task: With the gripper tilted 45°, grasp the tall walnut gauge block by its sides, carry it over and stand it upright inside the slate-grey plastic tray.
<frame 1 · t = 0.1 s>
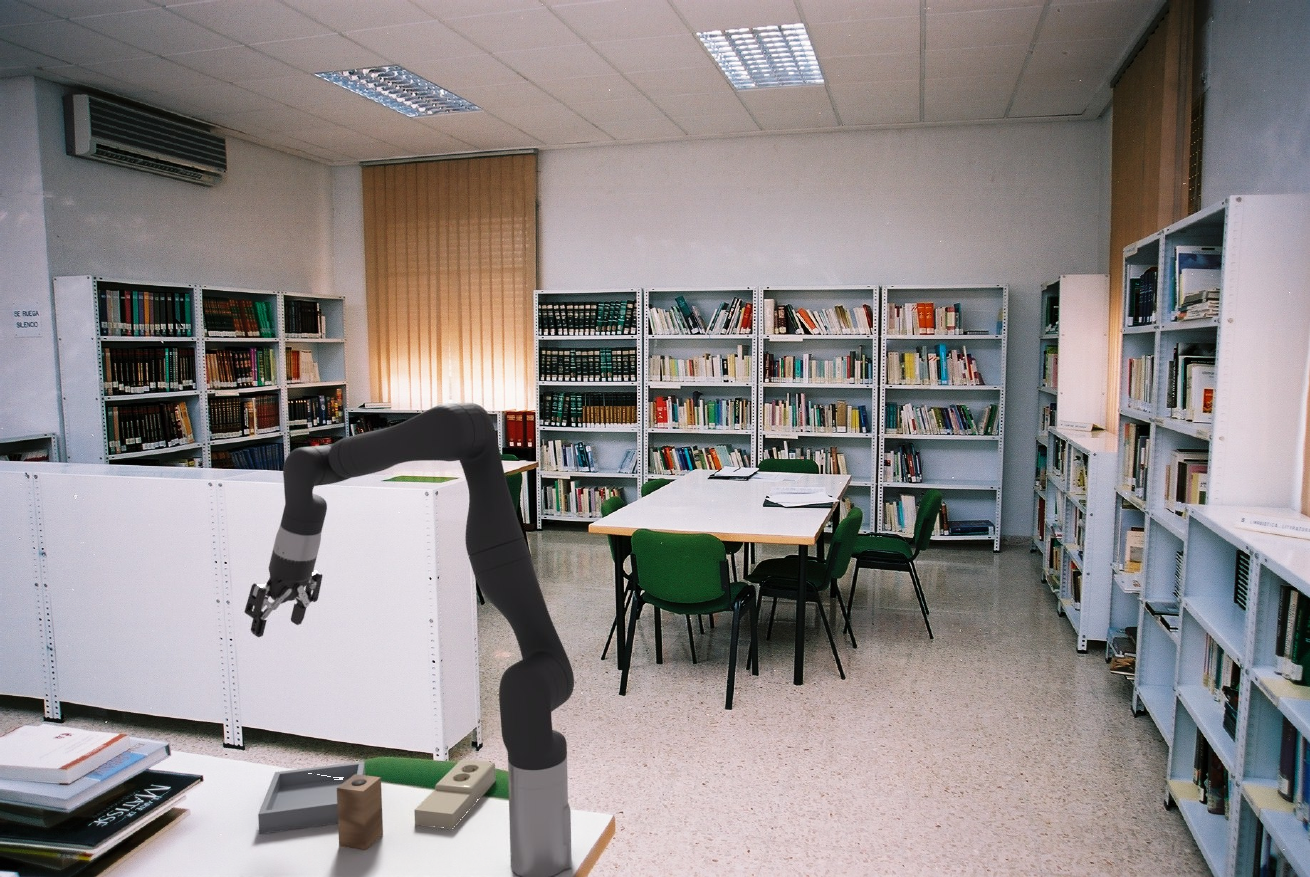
hand: (276, 628, 155), 31 cm above the table, tool tilted 20°, fingers open, 8 cm apart
gauge block: (361, 840, 141), on the table
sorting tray: (315, 804, 153), on the table
electrical outlet: (457, 804, 153), on the table
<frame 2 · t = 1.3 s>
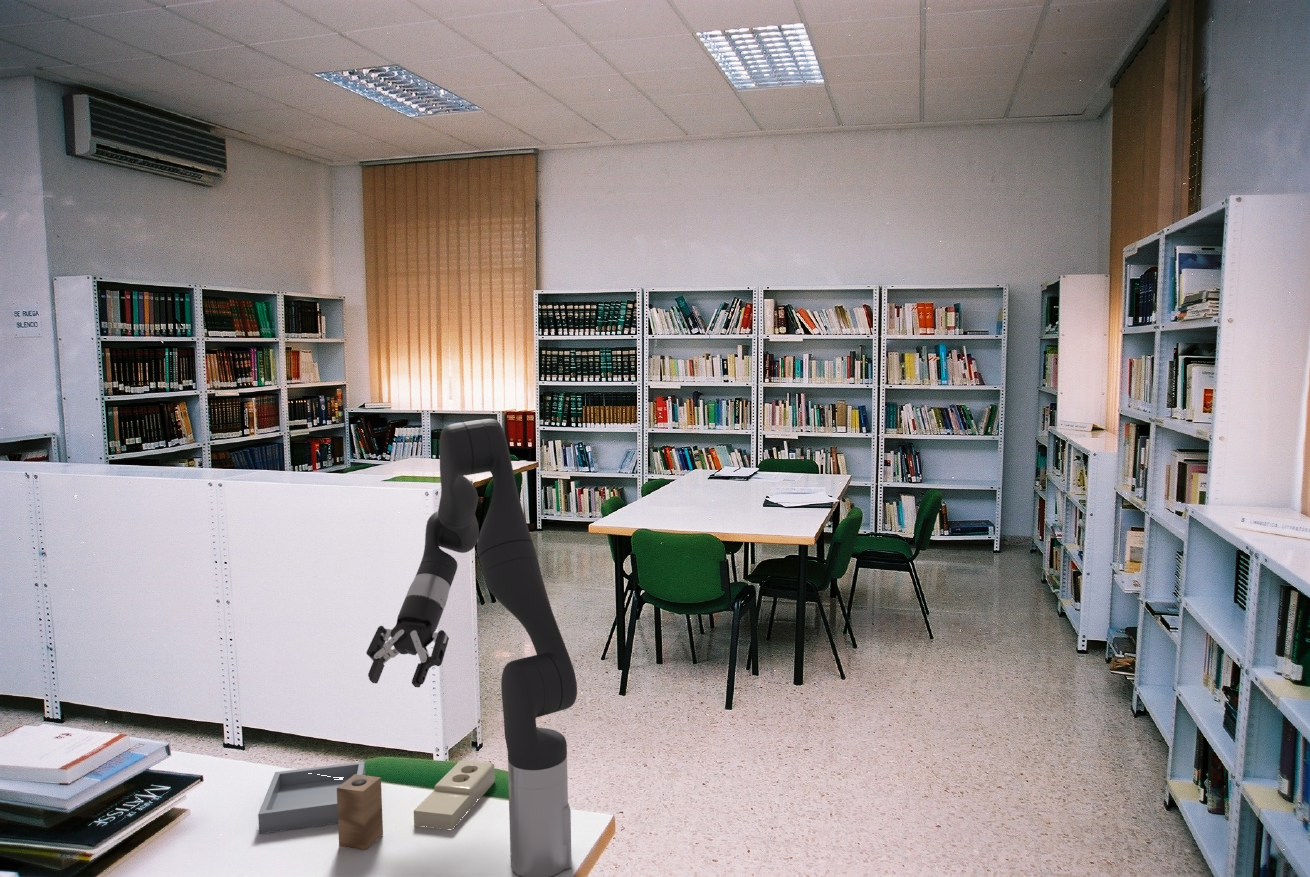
hand: (393, 683, 150), 23 cm above the table, tool tilted 45°, fingers open, 8 cm apart
nothing on the table moved.
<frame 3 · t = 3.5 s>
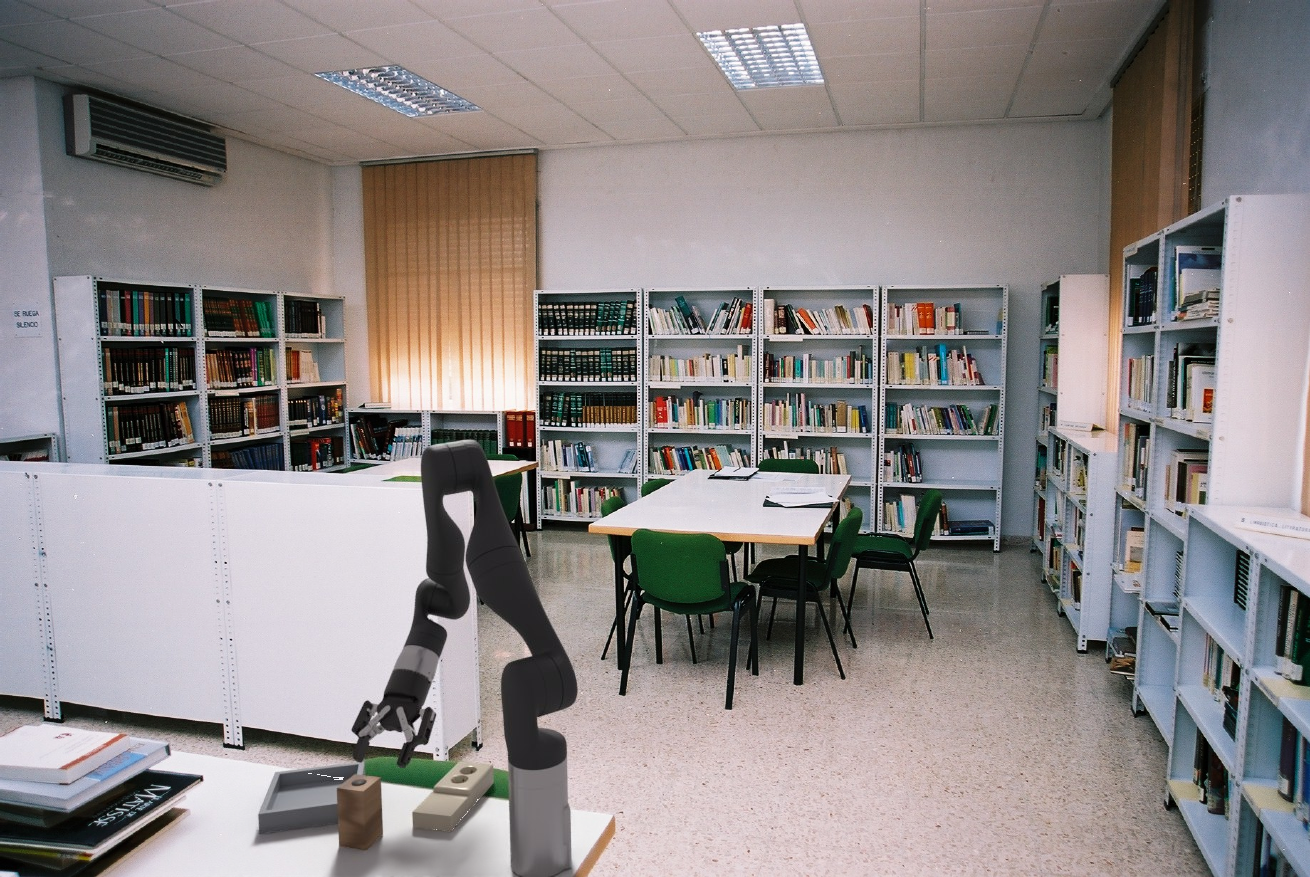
hand: (378, 763, 145), 11 cm above the table, tool tilted 45°, fingers open, 8 cm apart
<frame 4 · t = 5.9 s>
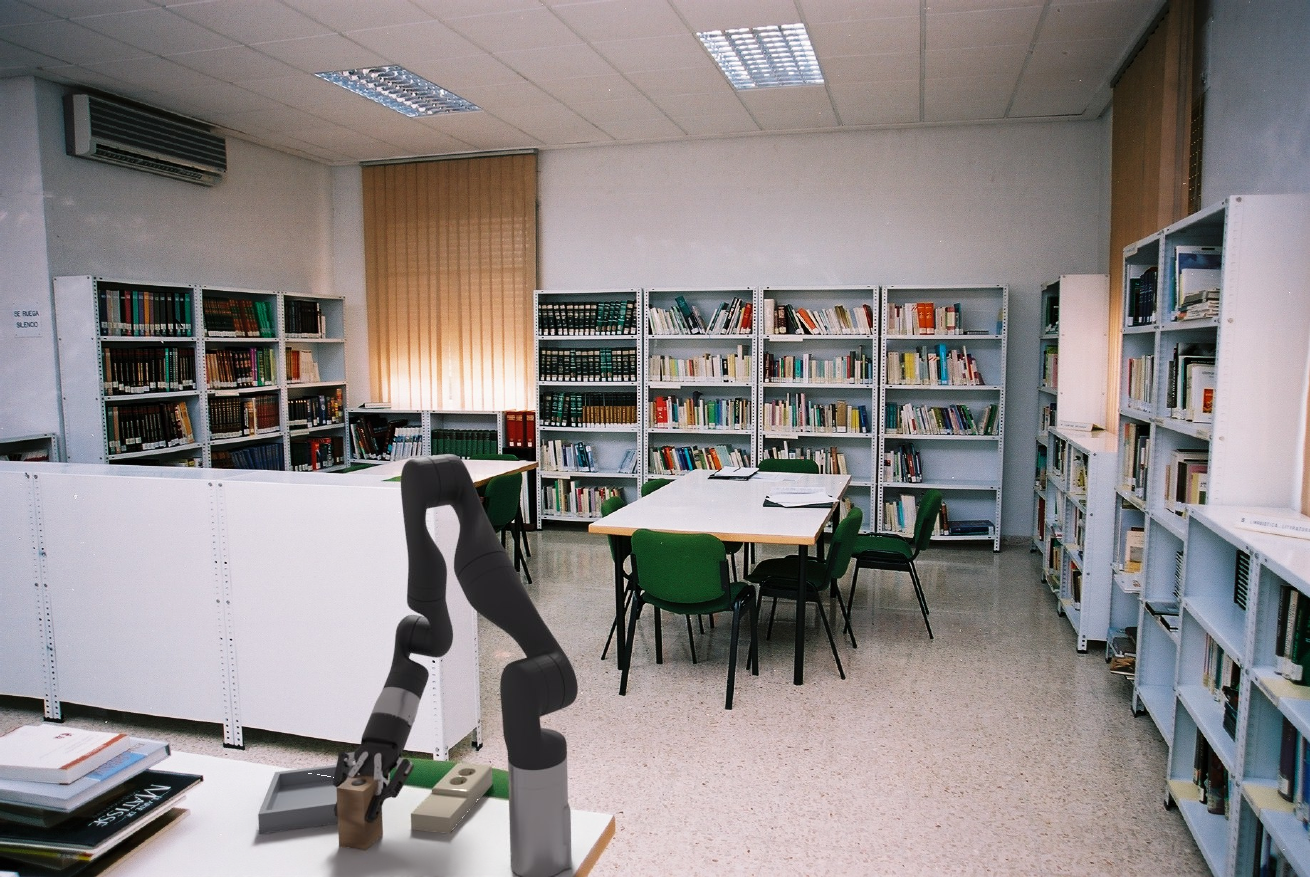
hand: (353, 818, 138), 5 cm above the table, tool tilted 45°, fingers closed on gauge block, 5 cm apart
gauge block: (361, 840, 141), on the table, touching gripper
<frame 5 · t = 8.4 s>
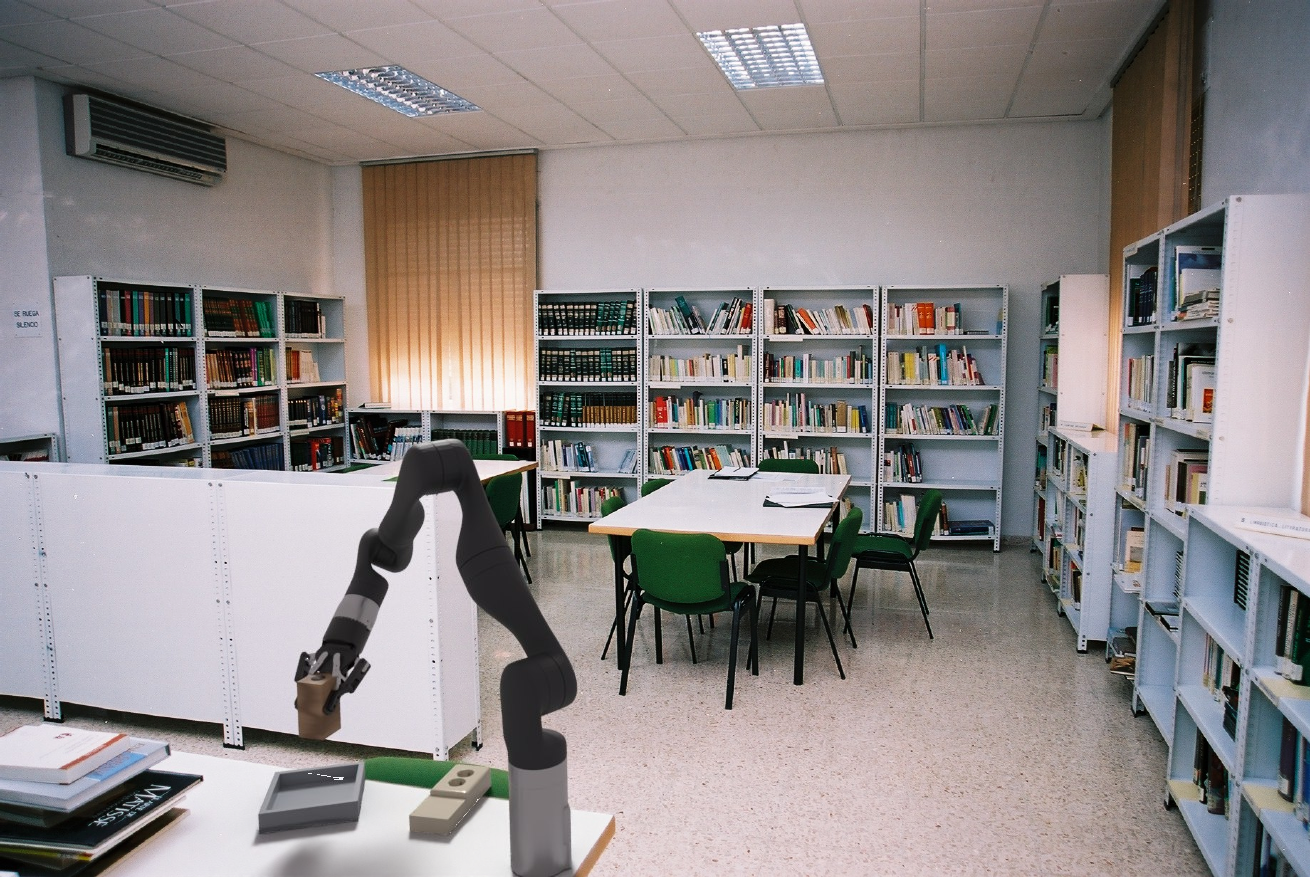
hand: (312, 711, 148), 19 cm above the table, tool tilted 45°, fingers closed on gauge block, 5 cm apart
gauge block: (320, 732, 150), point 14 cm above the table, touching gripper
when the fingers open (7 cm above the table, at t = 11.3 s): gauge block drops 1 cm, resting on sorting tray.
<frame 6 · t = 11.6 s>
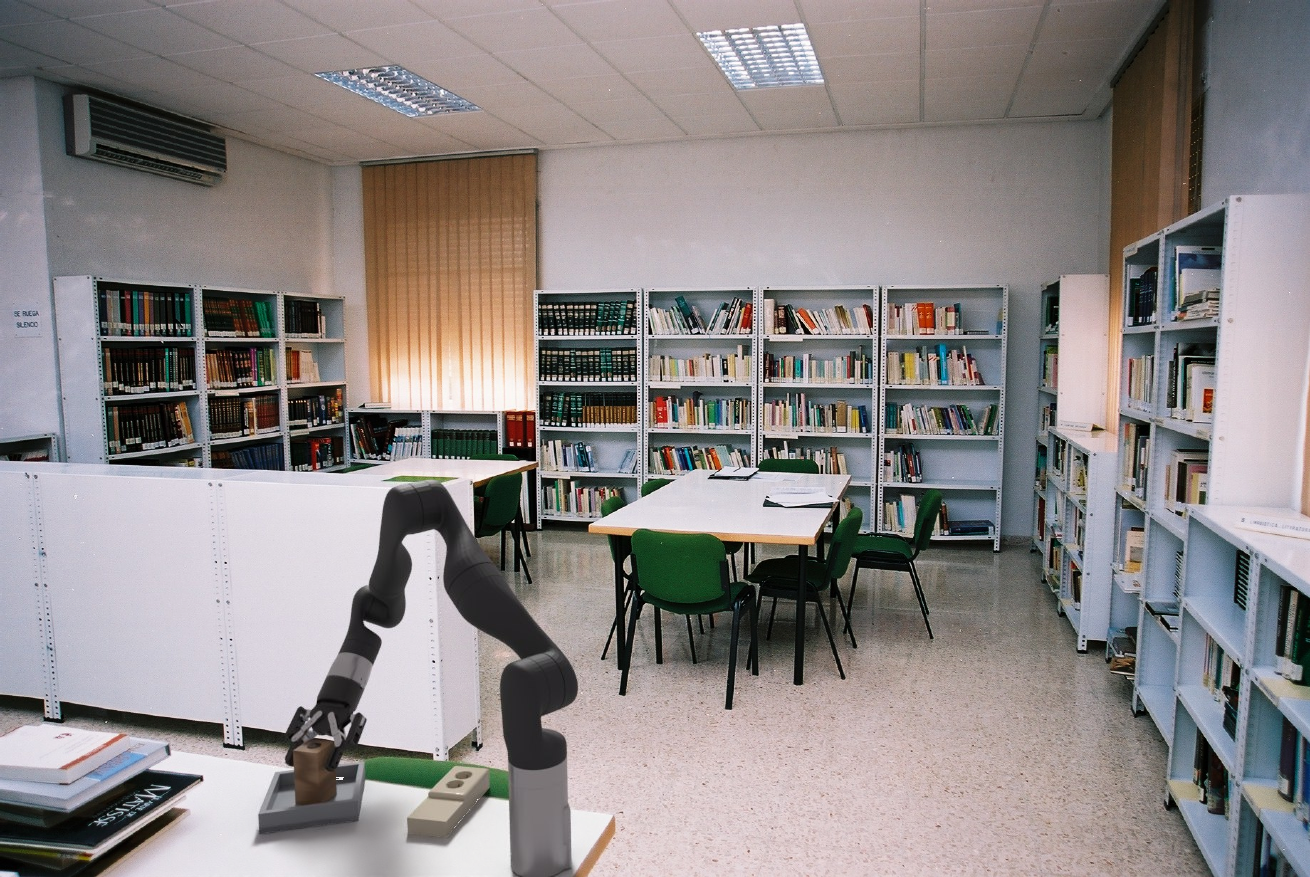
hand: (308, 767, 151), 8 cm above the table, tool tilted 45°, fingers open, 8 cm apart
gauge block: (316, 799, 153), point 1 cm above the table, touching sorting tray
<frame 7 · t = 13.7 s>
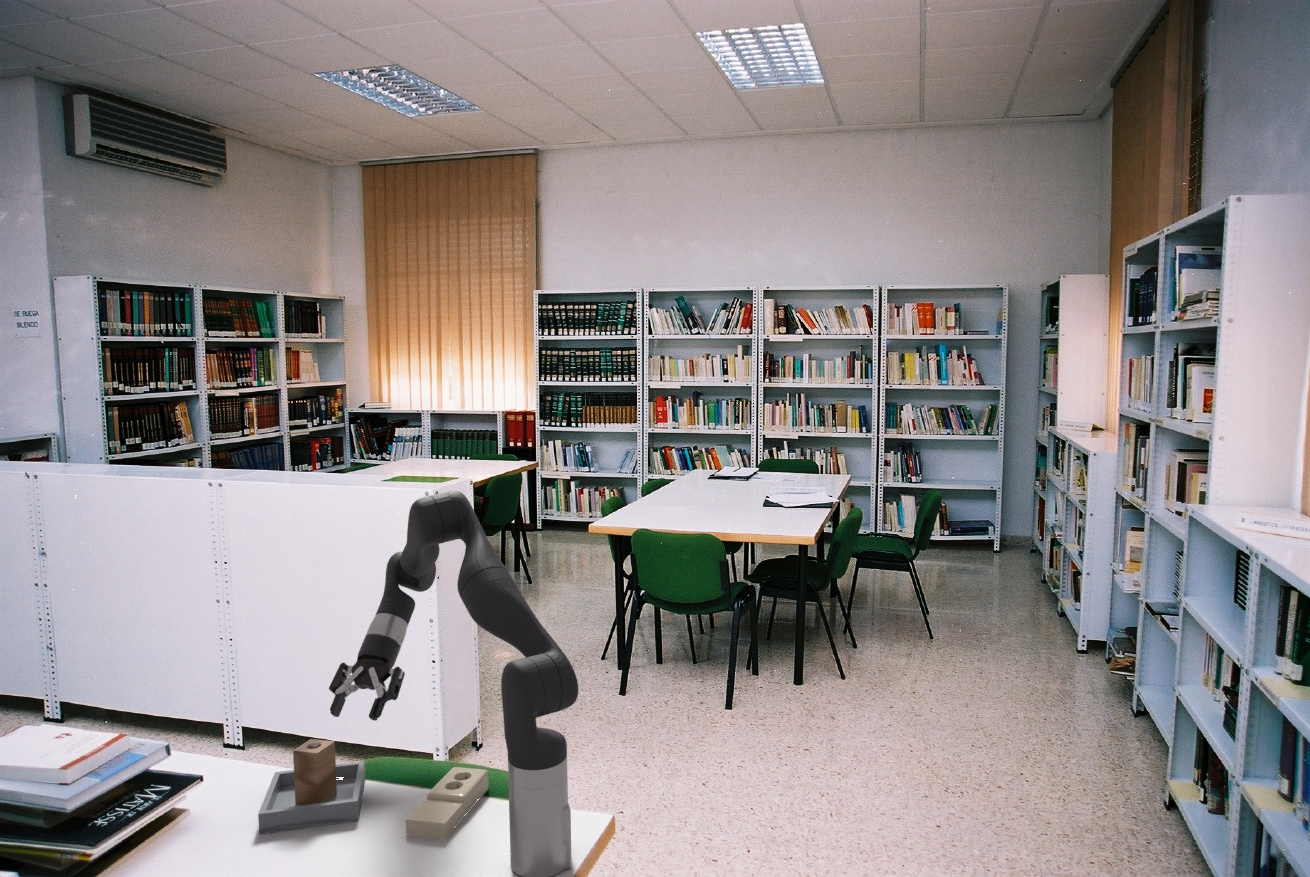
hand: (353, 717, 163), 12 cm above the table, tool tilted 45°, fingers open, 8 cm apart
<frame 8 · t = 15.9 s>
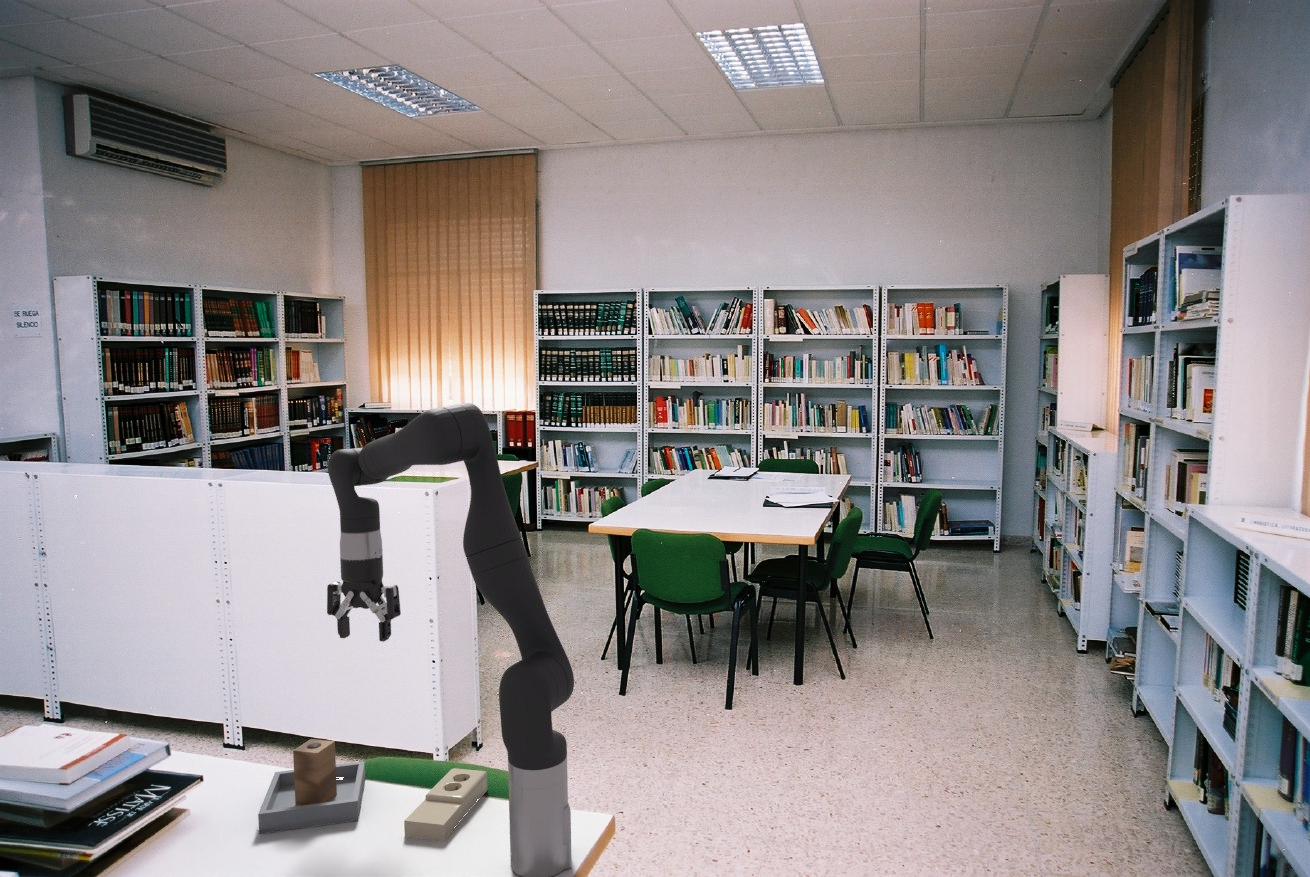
hand: (364, 638, 159), 28 cm above the table, tool pointing down, fingers open, 8 cm apart
at the end: gauge block inside the target area on the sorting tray (0.2 cm from its centre), point 1.0 cm above the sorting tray's base; gauge block tilted 0°; the gripper is holding nothing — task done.
